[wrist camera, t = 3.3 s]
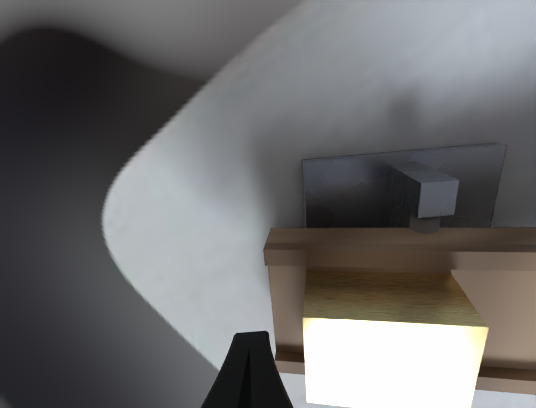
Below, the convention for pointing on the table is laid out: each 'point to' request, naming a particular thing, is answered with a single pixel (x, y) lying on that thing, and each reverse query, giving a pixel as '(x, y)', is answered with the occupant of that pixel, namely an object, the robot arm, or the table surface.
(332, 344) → the rider
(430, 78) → the table surface
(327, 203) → the beam stand
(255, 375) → the robot arm
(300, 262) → the beam
